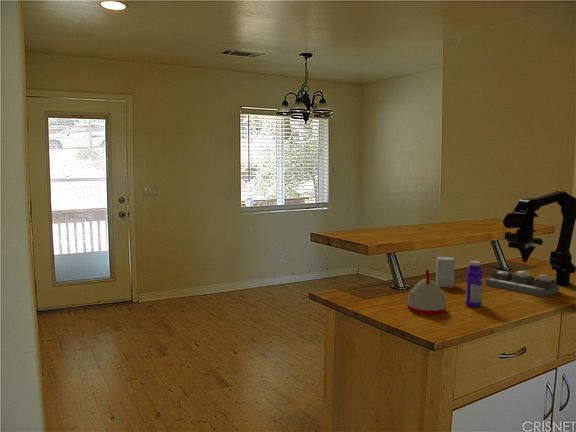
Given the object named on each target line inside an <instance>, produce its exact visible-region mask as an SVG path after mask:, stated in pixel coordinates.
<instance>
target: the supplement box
mask: <svg viewBox="0 0 576 432" xmlns="http://www.w3.org/2000/svg"><path fill="white" fill-rule="evenodd" d="M455 264H456V259H455V258H454V257H451V256H436V263H435V266H436V268H435V283H436V284H437V285H438V286H439V287H440V288H455V267H456V266H455Z"/></svg>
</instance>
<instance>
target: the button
mask: <svg viewBox="0 0 576 432" xmlns="http://www.w3.org/2000/svg"><path fill="white" fill-rule="evenodd" d="M496 272H497V273H498V274H504V275H507V274H509V271H504V270H497V271H496Z"/></svg>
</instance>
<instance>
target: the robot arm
mask: <svg viewBox="0 0 576 432" xmlns="http://www.w3.org/2000/svg"><path fill="white" fill-rule="evenodd" d="M555 203H557V205H558V206H560V213H561V215H562V222H561V227H560V232H559V236H558V242H557V247H556V249H555V250H551V251H550V256H549V259H548V260H549V264H550V267H551V271H553V270H554V271H555V281H557V286H562V287H569V286H572V285H573V284H574V283H573V282H571V274H575V273H576V266H575V265H574V264H573V262H572V259H573V258H572V253H571V251H570V249H571V244H572V239H573V234H574V229H575V225H576V197H574V196H572V195H570V194H569V193H568V192H566V191H563V190H562V191H561V190H560V191H559V190H557V191H554V192H550V193H547V194H545V195H539V196H538V197H526V198H525V197H524V198H521V199H519V200H518V203H517V204H516V205H515V207H514V209H513V211H512V212H507V213H506V215H505V216H504V217H503V219H502V223H503V224H502V225H503V226H504V227H505V228H506V229H516V231H515V232H514V233H512V232H511V231H507V232H505V233H504V239H505V240H506V241H507V242H508V243H507V248H512V249H518V251H519V253H520V256H521V259H522V263H527V262H528V260H529V259H530V257H531V255H532V253H533V252H534V251H535V249H536V248H537V247H536V246H534V245H538V246H542V245H543V244H544V243H543V239H542V238H541V237H534V233H535V232H536V229H534V226H535V225H534V223H535V218H538V217H539V215H538V213H536V212H537V211H539V210H540V209H541V208H542V207H545V206H547V205H548V206H549V205H550V204H555ZM517 228H518V229H517ZM533 244H534V245H533Z"/></svg>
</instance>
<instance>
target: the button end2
mask: <svg viewBox="0 0 576 432" xmlns="http://www.w3.org/2000/svg"><path fill="white" fill-rule="evenodd" d="M538 279H539V281H542V282H547V283H550V282H552V280H553V276H552V275H551V274H550V275H549V274H544V273H543V274H542V273H541V274H539V275H538Z"/></svg>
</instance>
